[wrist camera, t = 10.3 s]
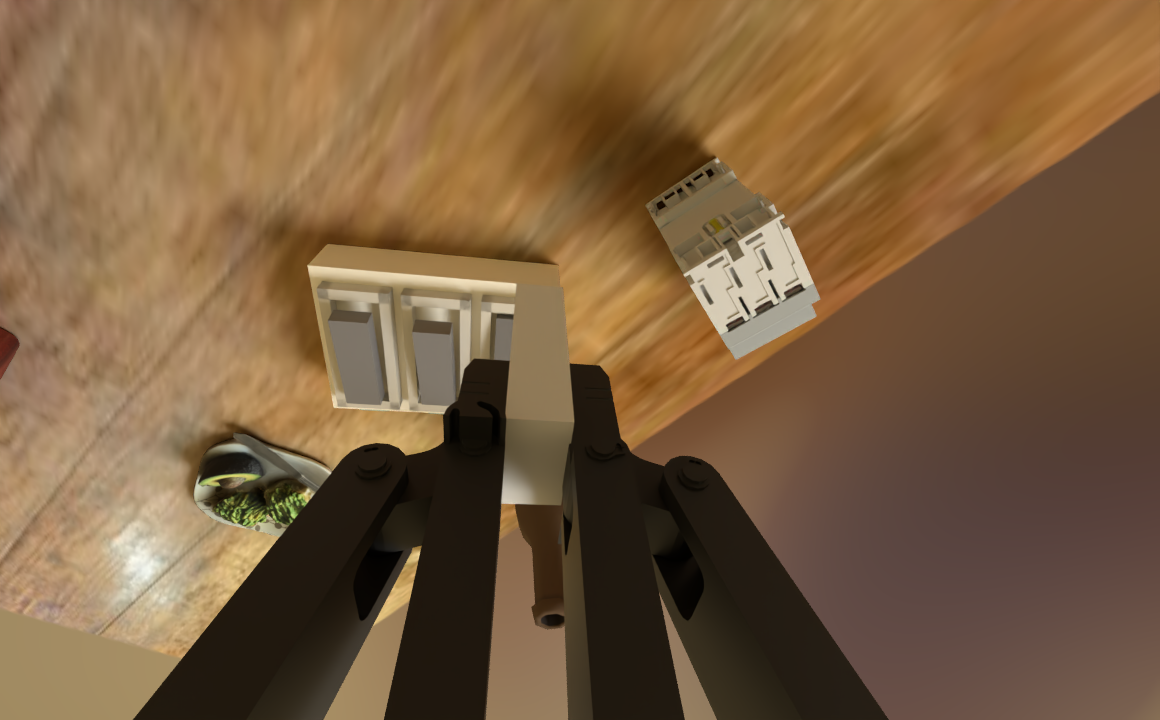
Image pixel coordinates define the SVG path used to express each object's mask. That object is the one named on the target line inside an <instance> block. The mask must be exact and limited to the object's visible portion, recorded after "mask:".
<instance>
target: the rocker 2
mask: <svg viewBox="0 0 1160 720" xmlns="http://www.w3.org/2000/svg"><path fill="white" fill-rule="evenodd" d="M412 337H413V344H414V351H415V359H416V366H417V373H418V380H419V388H420V395H421V402H422V405H439V406H450V405H451V404H453V403H454V402H455V400H456V376H455V359H454V341H453V324H452V322H441V321H428V320H415V323H414V326H413V330H412Z"/></svg>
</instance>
